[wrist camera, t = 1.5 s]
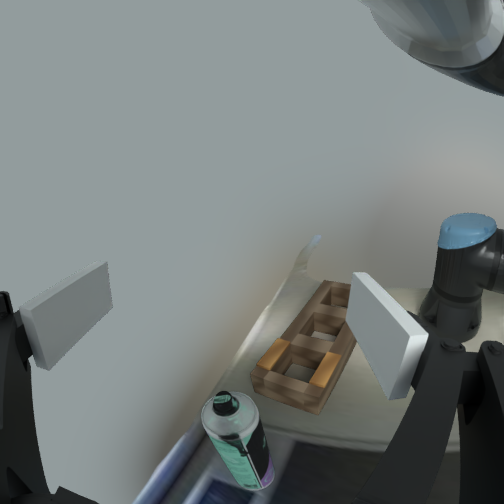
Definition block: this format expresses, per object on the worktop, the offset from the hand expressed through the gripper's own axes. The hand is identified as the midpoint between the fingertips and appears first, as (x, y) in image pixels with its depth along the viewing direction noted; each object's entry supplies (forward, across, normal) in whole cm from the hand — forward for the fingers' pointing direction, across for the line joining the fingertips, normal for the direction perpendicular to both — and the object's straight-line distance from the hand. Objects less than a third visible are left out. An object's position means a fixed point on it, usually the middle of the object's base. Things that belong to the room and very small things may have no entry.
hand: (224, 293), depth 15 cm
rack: (+34, +15, -25) cm, 45 cm away
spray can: (+9, +3, -32) cm, 33 cm away
